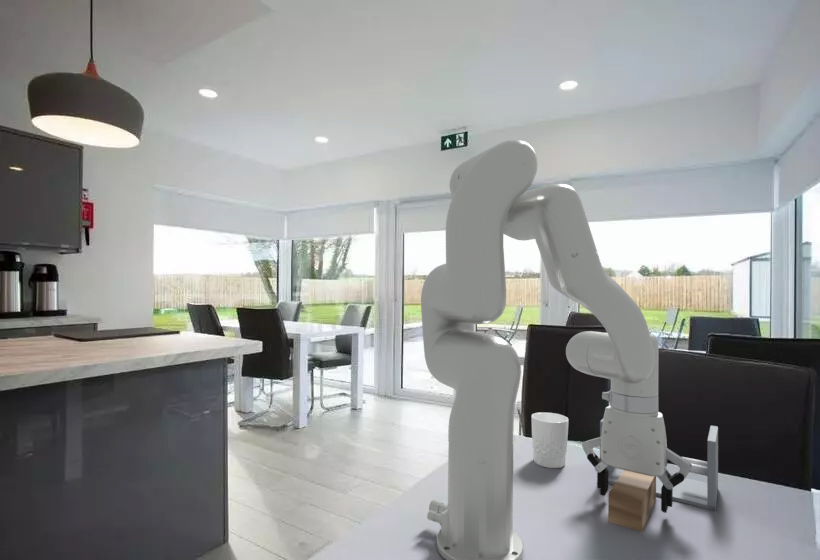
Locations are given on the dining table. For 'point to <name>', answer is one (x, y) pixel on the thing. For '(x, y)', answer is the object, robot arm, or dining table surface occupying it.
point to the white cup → (549, 439)
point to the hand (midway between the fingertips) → (633, 500)
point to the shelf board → (631, 500)
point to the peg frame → (690, 489)
